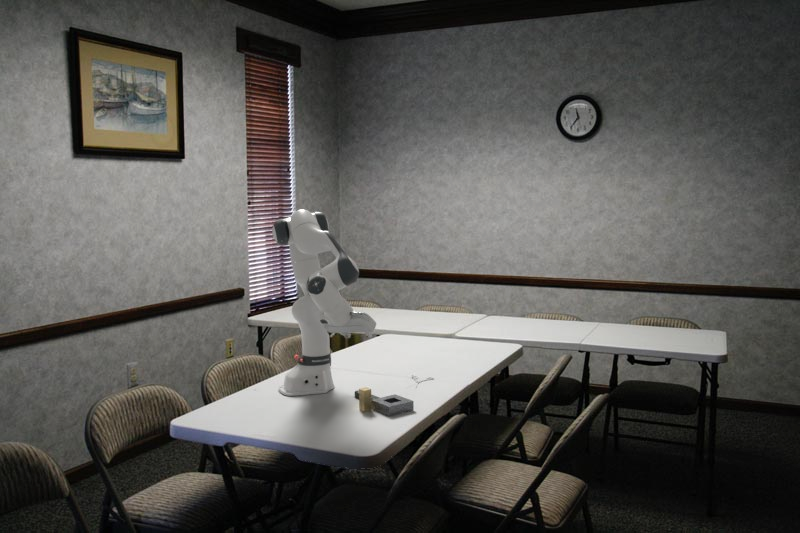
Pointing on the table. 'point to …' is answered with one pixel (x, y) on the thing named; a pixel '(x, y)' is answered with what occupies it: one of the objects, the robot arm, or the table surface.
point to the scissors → (420, 381)
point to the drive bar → (365, 399)
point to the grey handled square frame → (390, 404)
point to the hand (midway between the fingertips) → (359, 336)
